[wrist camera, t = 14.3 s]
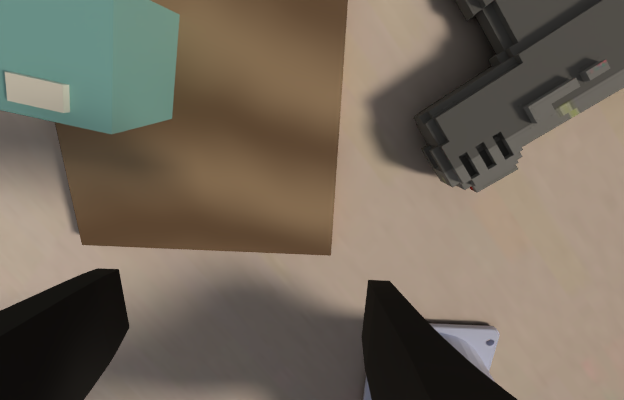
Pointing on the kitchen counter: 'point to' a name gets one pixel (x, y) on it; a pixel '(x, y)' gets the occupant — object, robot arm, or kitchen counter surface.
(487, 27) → the toy gun
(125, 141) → the board
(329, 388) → the kitchen counter surface
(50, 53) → the teal cube
